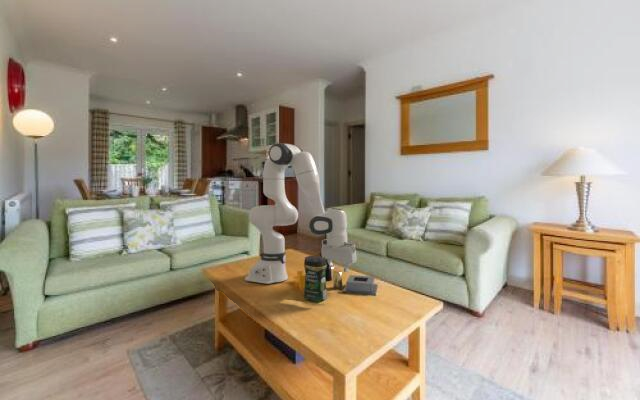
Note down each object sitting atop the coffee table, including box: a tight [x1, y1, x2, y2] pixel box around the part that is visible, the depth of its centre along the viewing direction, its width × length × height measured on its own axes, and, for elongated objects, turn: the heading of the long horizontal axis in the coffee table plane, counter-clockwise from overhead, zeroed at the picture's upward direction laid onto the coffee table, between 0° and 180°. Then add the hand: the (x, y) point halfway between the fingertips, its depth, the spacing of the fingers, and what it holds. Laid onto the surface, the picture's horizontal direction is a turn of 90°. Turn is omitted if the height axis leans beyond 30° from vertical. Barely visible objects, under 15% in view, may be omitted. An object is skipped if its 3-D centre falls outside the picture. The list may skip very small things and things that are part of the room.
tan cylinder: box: [332, 270, 343, 291], centre depth 138 cm, size 4×4×8 cm
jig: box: [342, 274, 378, 296], centre depth 136 cm, size 15×14×5 cm
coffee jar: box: [303, 255, 328, 303], centre depth 124 cm, size 10×8×19 cm
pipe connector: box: [319, 252, 333, 282], centre depth 148 cm, size 12×5×15 cm, turn 120°
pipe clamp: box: [293, 269, 305, 291], centre depth 142 cm, size 12×4×6 cm, turn 11°
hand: (338, 270), depth 137 cm, fingers open, 8 cm apart
